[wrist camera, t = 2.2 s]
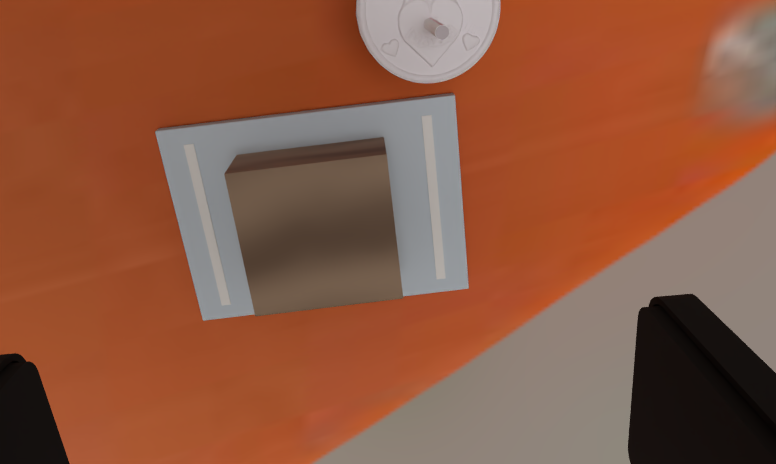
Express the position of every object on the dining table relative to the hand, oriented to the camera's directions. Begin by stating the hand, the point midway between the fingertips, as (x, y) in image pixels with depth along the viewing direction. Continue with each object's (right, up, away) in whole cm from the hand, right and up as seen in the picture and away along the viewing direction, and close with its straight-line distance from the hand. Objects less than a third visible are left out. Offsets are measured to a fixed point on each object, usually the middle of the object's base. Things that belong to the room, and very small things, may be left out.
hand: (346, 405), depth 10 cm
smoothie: (+2, +16, +27) cm, 31 cm away
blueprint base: (-4, +4, +31) cm, 32 cm away
